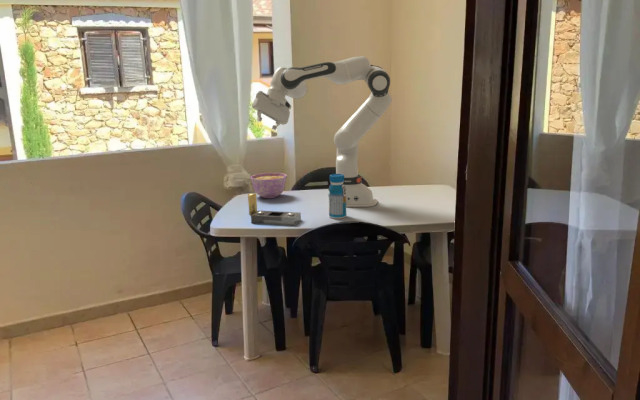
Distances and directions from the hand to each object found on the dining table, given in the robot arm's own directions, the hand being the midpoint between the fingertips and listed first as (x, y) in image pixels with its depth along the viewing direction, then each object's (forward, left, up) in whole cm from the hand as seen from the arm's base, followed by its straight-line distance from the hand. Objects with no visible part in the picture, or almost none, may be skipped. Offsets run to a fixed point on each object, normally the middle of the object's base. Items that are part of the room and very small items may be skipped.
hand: (266, 125), depth 250 cm
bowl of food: (+12, -28, -43) cm, 52 cm away
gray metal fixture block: (-10, +18, -42) cm, 47 cm away
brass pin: (+6, +8, -42) cm, 44 cm away
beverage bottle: (-36, +5, -43) cm, 56 cm away
